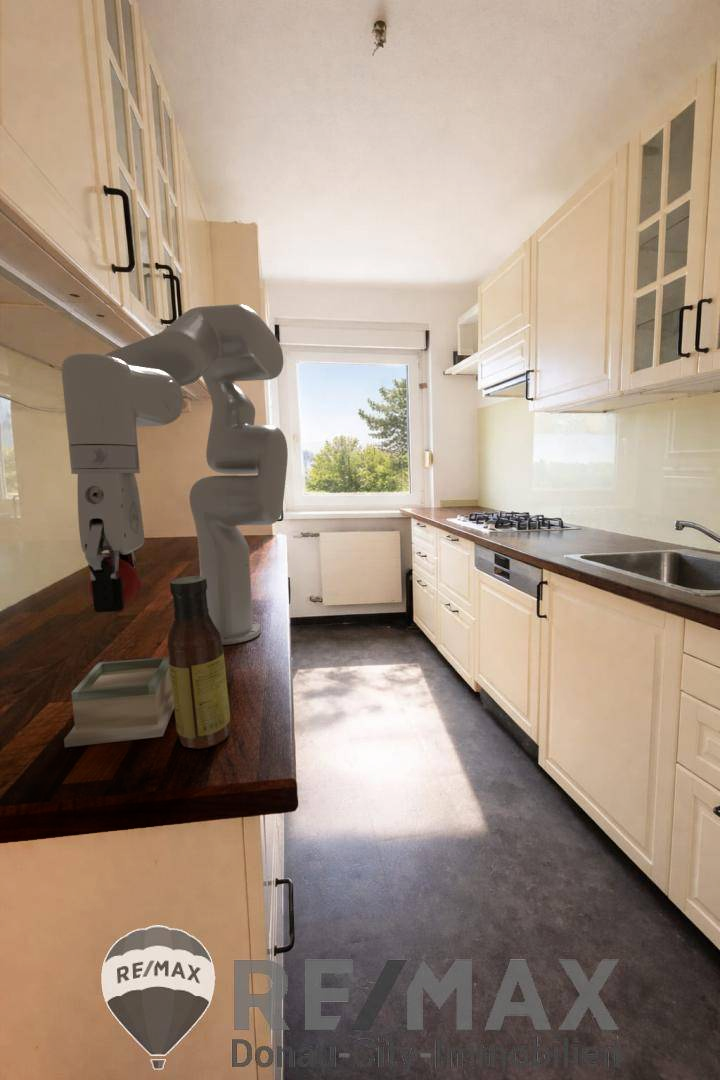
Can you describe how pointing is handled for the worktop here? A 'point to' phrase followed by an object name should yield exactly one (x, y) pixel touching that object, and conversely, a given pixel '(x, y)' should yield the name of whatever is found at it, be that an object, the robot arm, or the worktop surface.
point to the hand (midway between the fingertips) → (117, 602)
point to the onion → (126, 583)
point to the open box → (122, 702)
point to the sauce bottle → (197, 667)
